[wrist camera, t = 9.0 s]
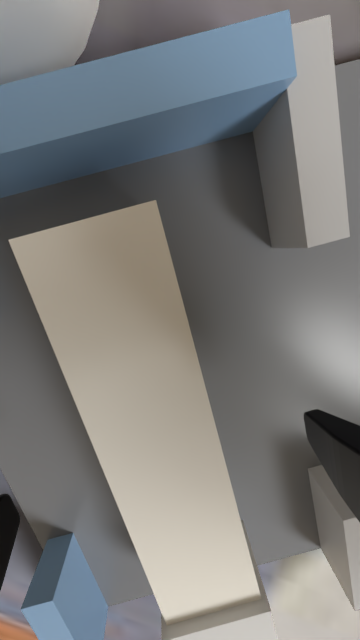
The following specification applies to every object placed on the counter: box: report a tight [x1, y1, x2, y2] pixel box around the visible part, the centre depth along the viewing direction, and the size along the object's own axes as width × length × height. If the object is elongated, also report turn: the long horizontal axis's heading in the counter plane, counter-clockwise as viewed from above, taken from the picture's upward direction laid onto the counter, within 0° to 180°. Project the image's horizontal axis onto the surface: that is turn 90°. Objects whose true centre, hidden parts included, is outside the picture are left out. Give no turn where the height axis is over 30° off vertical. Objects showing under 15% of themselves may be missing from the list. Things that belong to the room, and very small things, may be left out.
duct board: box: [0, 10, 360, 640], centre depth 10 cm, size 20×27×4 cm
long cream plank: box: [8, 200, 278, 640], centre depth 10 cm, size 16×4×3 cm, turn 15°
